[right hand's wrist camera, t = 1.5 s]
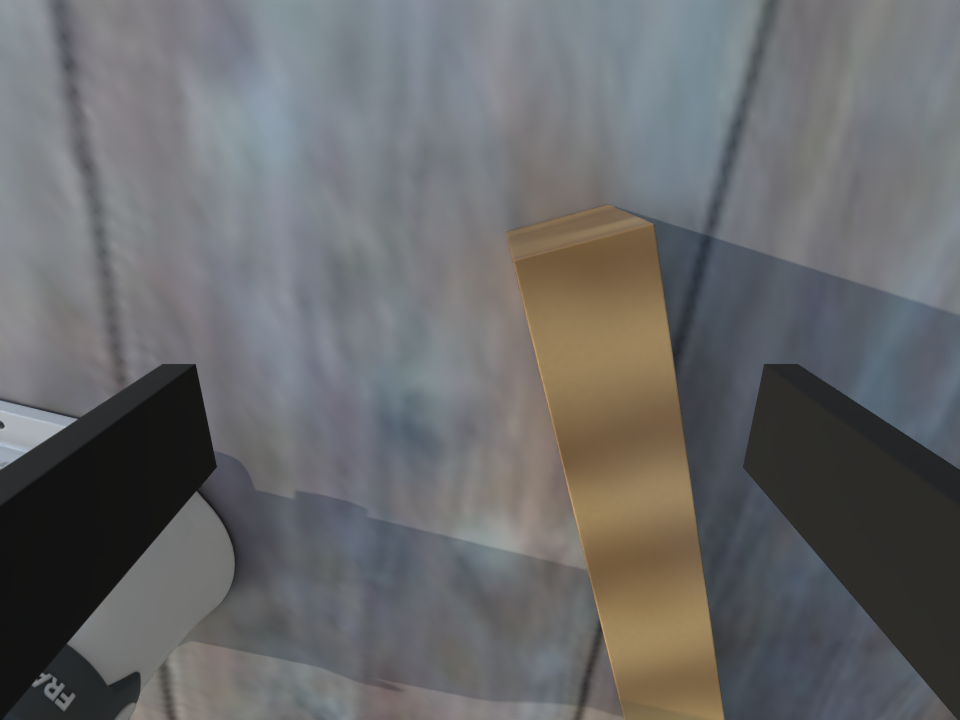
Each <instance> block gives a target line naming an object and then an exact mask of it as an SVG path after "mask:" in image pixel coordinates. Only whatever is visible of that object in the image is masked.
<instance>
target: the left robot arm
mask: <svg viewBox="0 0 960 720" xmlns="http://www.w3.org/2000/svg"><path fill="white" fill-rule="evenodd" d="M76 420H78V419H75V418H71V417H67V416H63V415H59V414H54V413H50V412H46V411H42V410H38V409H34V408H30V407H25V406H21V405H17V404H13V403H9V402H5V401H1V400H0V470H1V469H2V468H4V467H5V466H7V465H9V464H10V463H12V462H13V461H15V460H16V459H18V458H19V457H21V456H22V455H24V454H25V453H27V452H29V451H30V450H32V449H33V448H35V447H36V446H38V445H39V444H41V443H42V442H44V441H45V440H47V439H48V438H50V437H52V436H53V435H55V434H56V433H58V432H59V431H61V430H62V429H64V428H65V427H67V426H68V425H70V424H71V423H73V422H75V421H76ZM234 571H235V558H234V551H233V547H232V543H231V540H230V538H229V535H228V533H227V531H226V529H225V527H224V525H223V523H222V522H221V520H220V519H219V517H218V516H217V514H216V513H215V512H214V510H213V509H212V508H211V507H210V506H209V504H208V503H207V502H206V501H205V500H204V499H203V498H202V497H201V495H200V494H199V493H198V492H197V491H196V492H195V493H194V495H193V496H192V497H191V498H190V499H189V500H188V502H187V503H186V504H185V505H184V506H183V508H182V509H181V510H180V511H179V512H178V513H177V515H176V516H175V517H174V518H173V519H172V521H171V522H170V523H169V524H168V525H167V526H166V528H165V529H164V530H163V531H162V532H161V533H160V535H159V536H158V537H157V538H156V539H155V541H154V542H153V543H152V544H151V545H150V546H149V548H148V549H147V550H146V551H145V552H144V553H143V555H142V556H141V557H140V558H139V559H138V561H137V562H136V563H135V564H134V565H133V566H132V568H131V569H130V570H129V571H128V572H127V574H126V575H125V576H124V577H123V578H122V579H121V581H120V582H119V583H118V584H117V585H116V586H115V588H114V589H113V590H112V591H111V592H110V594H109V595H108V596H107V597H106V598H105V599H104V601H103V602H102V603H101V604H100V605H99V606H98V608H97V609H96V610H95V611H94V612H93V614H92V615H91V616H90V617H89V618H88V619H87V621H86V622H85V623H84V624H83V625H82V627H81V628H80V629H79V630H78V631H77V632H76V634H75V635H74V636H73V637H72V638H71V639H70V641H69V642H68V643H67V644H66V645H65V647H64V648H63V649H62V650H61V651H60V652H59V654H58V655H57V656H56V657H55V658H54V659H53V661H52V662H51V663H50V664H49V665H48V667H47V668H46V669H45V670H44V671H43V672H42V674H41V675H40V676H39V677H38V678H37V680H36V681H35V682H34V683H33V684H32V685H31V687H30V688H29V689H28V690H27V691H26V692H25V694H24V695H23V696H22V697H21V698H20V700H19V701H18V702H17V703H16V704H15V705H14V707H13V708H12V709H11V710H10V711H9V712H8V714H7V715H6V716H5V717H4V718H3V720H129V719H130V718H131V716H132V714H133V712H134V710H135V707H136V703H137V701H138V698H139V695H140V692H141V690H142V689H143V688H144V686H145V685H146V684H147V682H148V681H149V680H150V678H151V677H152V676H153V675H154V673H155V672H156V671H157V670H158V668H159V667H160V666H161V665H162V664H163V662H164V661H165V660H166V659H167V657H168V656H169V655H170V654H171V653H172V651H173V650H174V649H175V648H176V647H177V646H178V645H179V643H180V642H181V641H182V640H183V639H184V638H185V637H186V636H187V634H188V633H189V632H190V631H191V630H192V629H193V628H194V627H195V626H196V625H197V624H198V623H199V622H200V621H201V620H202V619H203V618H205V617H206V616H207V615H208V614H209V613H210V612H211V611H213V610H214V609H215V608H216V607H217V606H218V605H219V604H220V603H221V602H222V600H223V599H224V598H225V596H226V595H227V593H228V591H229V589H230V587H231V584H232V581H233V577H234Z"/></svg>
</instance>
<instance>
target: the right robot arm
mask: <svg viewBox="0 0 960 720" xmlns="http://www.w3.org/2000/svg"><path fill="white" fill-rule="evenodd" d="M216 468H217V465H216V461H215V456H214V451H213V446H212V441H211V436H210V431H209V427H208V422H207V417H206V412H205V407H204V402H203V397H202V393H201V388H200V383H199V378H198V373H197V368H196V364H162V365H160V366H159V367H157V368H156V369H154V370H153V371H151V372H150V373H148V374H147V375H145V376H144V377H142V378H140V379H139V380H137V381H136V382H134V383H133V384H131V385H130V386H128V387H127V388H125V389H124V390H122V391H121V392H119V393H117V394H116V395H114V396H113V397H111V398H110V399H108V400H107V401H105V402H104V403H102V404H101V405H99V406H98V407H96V408H94V409H93V410H91V411H90V412H88V413H87V414H85V415H84V416H82V417H81V418H79V419H78V420H76V421H75V422H73V423H71V424H70V425H68V426H67V427H65V428H64V429H62V430H61V431H59V432H58V433H56V434H55V435H53V436H52V437H50V438H48V439H47V440H45V441H44V442H42V443H41V444H39V445H38V446H36V447H35V448H33V449H32V450H30V451H29V452H27V453H25V454H24V455H22V456H21V457H19V458H18V459H16V460H15V461H13V462H12V463H10V464H9V465H7V466H5V467H4V468H2V469H1V470H0V720H3V718H4V717H5V716H6V715H7V714H8V712H9V711H10V710H11V709H12V708H13V707H14V705H15V704H16V703H17V702H18V701H19V700H20V698H21V697H22V696H23V695H24V694H25V692H26V691H27V690H28V689H29V688H30V687H31V685H32V684H33V683H34V682H35V681H36V680H37V678H38V677H39V676H40V675H41V674H42V672H43V671H44V670H45V669H46V668H47V667H48V665H49V664H50V663H51V662H52V661H53V659H54V658H55V657H56V656H57V655H58V654H59V652H60V651H61V650H62V649H63V648H64V647H65V645H66V644H67V643H68V642H69V641H70V639H71V638H72V637H73V636H74V635H75V634H76V632H77V631H78V630H79V629H80V628H81V627H82V625H83V624H84V623H85V622H86V621H87V619H88V618H89V617H90V616H91V615H92V614H93V612H94V611H95V610H96V609H97V608H98V606H99V605H100V604H101V603H102V602H103V601H104V599H105V598H106V597H107V596H108V595H109V594H110V592H111V591H112V590H113V589H114V588H115V586H116V585H117V584H118V583H119V582H120V581H121V579H122V578H123V577H124V576H125V575H126V574H127V572H128V571H129V570H130V569H131V568H132V566H133V565H134V564H135V563H136V562H137V561H138V559H139V558H140V557H141V556H142V555H143V553H144V552H145V551H146V550H147V549H148V548H149V546H150V545H151V544H152V543H153V542H154V541H155V539H156V538H157V537H158V536H159V535H160V533H161V532H162V531H163V530H164V529H165V528H166V526H167V525H168V524H169V523H170V522H171V521H172V519H173V518H174V517H175V516H176V515H177V513H178V512H179V511H180V510H181V509H182V508H183V506H184V505H185V504H186V503H187V502H188V500H189V499H190V498H191V497H192V496H193V495H194V493H195V492H196V491H197V490H198V489H199V488H200V486H201V485H202V484H203V483H204V482H205V480H206V479H207V478H208V477H209V476H210V475H211V473H212V472H213V471H214V470H215V469H216ZM743 468H744V469H745V470H746V471H747V472H748V473H749V475H750V476H751V477H752V478H753V479H754V480H755V482H756V483H757V484H758V485H759V486H760V488H761V489H762V490H763V491H764V492H765V493H766V495H767V496H768V497H769V498H770V499H771V500H772V502H773V503H774V504H775V505H776V506H777V508H778V509H779V510H780V511H781V512H782V513H783V515H784V516H785V517H786V518H787V519H788V521H789V522H790V523H791V524H792V525H793V526H794V528H795V529H796V530H797V531H798V532H799V533H800V535H801V536H802V537H803V538H804V539H805V541H806V542H807V543H808V544H809V545H810V546H811V548H812V549H813V550H814V551H815V552H816V553H817V555H818V556H819V557H820V558H821V559H822V561H823V562H824V563H825V564H826V565H827V566H828V568H829V569H830V570H831V571H832V572H833V574H834V575H835V576H836V577H837V578H838V579H839V581H840V582H841V583H842V584H843V585H844V586H845V588H846V589H847V590H848V591H849V592H850V594H851V595H852V596H853V597H854V598H855V599H856V601H857V602H858V603H859V604H860V605H861V606H862V608H863V609H864V610H865V611H866V612H867V614H868V615H869V616H870V617H871V618H872V619H873V621H874V622H875V623H876V624H877V625H878V627H879V628H880V629H881V630H882V631H883V632H884V634H885V635H886V636H887V637H888V638H889V639H890V641H891V642H892V643H893V644H894V645H895V647H896V648H897V649H898V650H899V651H900V652H901V654H902V655H903V656H904V657H905V658H906V659H907V661H908V662H909V663H910V664H911V665H912V667H913V668H914V669H915V670H916V671H917V672H918V674H919V675H920V676H921V677H922V678H923V680H924V681H925V682H926V683H927V684H928V685H929V687H930V688H931V689H932V690H933V691H934V692H935V694H936V695H937V696H938V697H939V698H940V700H941V701H942V702H943V703H944V704H945V705H946V707H947V708H948V709H949V710H950V711H951V712H952V714H953V715H954V716H955V717H956V718H957V720H960V470H959V469H958V468H956V467H955V466H953V465H951V464H950V463H948V462H947V461H945V460H944V459H942V458H941V457H939V456H938V455H936V454H935V453H933V452H931V451H930V450H928V449H927V448H925V447H924V446H922V445H921V444H919V443H918V442H916V441H915V440H913V439H912V438H910V437H908V436H907V435H905V434H904V433H902V432H901V431H899V430H898V429H896V428H895V427H893V426H892V425H890V424H889V423H887V422H885V421H884V420H882V419H881V418H879V417H878V416H876V415H875V414H873V413H872V412H870V411H869V410H867V409H866V408H864V407H862V406H861V405H859V404H858V403H856V402H855V401H853V400H852V399H850V398H849V397H847V396H846V395H844V394H843V393H841V392H839V391H838V390H836V389H835V388H833V387H832V386H830V385H829V384H827V383H826V382H824V381H823V380H821V379H820V378H818V377H816V376H815V375H813V374H812V373H810V372H809V371H807V370H806V369H804V368H803V367H801V366H800V365H798V364H764V368H763V373H762V378H761V383H760V388H759V393H758V397H757V402H756V407H755V412H754V417H753V422H752V427H751V431H750V436H749V441H748V446H747V451H746V456H745V461H744V465H743Z"/></svg>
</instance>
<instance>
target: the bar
mask: <svg viewBox="0 0 960 720" xmlns="http://www.w3.org/2000/svg"><path fill="white" fill-rule="evenodd" d="M506 236H507V240H508V244H509V248H510V253H511V257H512V261H513V265H514V269H515V273H516V277H517V281H518V285H519V290H520V294H521V298H522V302H523V306H524V310H525V314H526V318H527V323H528V327H529V331H530V335H531V339H532V343H533V347H534V351H535V355H536V360H537V364H538V368H539V372H540V376H541V380H542V384H543V388H544V392H545V397H546V401H547V405H548V409H549V413H550V417H551V421H552V425H553V429H554V434H555V438H556V442H557V446H558V450H559V454H560V458H561V462H562V467H563V471H564V475H565V479H566V483H567V487H568V491H569V495H570V499H571V504H572V508H573V512H574V516H575V520H576V524H577V528H578V532H579V536H580V541H581V545H582V549H583V553H584V557H585V561H586V565H587V569H588V573H589V578H590V582H591V586H592V590H593V594H594V598H595V602H596V606H597V611H598V615H599V619H600V623H601V627H602V631H603V635H604V639H605V643H606V648H607V652H608V656H609V660H610V664H611V668H612V672H613V676H614V680H615V685H616V689H617V693H618V697H619V701H620V705H621V709H622V713H623V717H624V720H725V718H724V711H723V704H722V697H721V690H720V683H719V676H718V669H717V662H716V655H715V648H714V641H713V634H712V627H711V619H710V612H709V605H708V598H707V591H706V584H705V577H704V570H703V563H702V556H701V549H700V542H699V535H698V528H697V521H696V514H695V507H694V500H693V493H692V486H691V479H690V472H689V465H688V458H687V451H686V444H685V437H684V430H683V423H682V416H681V409H680V402H679V395H678V387H677V380H676V373H675V366H674V359H673V352H672V345H671V338H670V331H669V324H668V317H667V310H666V303H665V296H664V289H663V282H662V275H661V268H660V261H659V254H658V247H657V240H656V233H655V226H654V224H653V223H651V222H649V221H646V220H644V219H642V218H639V217H637V216H635V215H632V214H630V213H628V212H625V211H623V210H620V209H618V208H616V207H613V206H611V205H605V206H601V207H597V208H594V209H590V210H586V211H582V212H579V213H575V214H571V215H568V216H564V217H560V218H556V219H553V220H549V221H545V222H541V223H538V224H534V225H530V226H526V227H523V228H519V229H515V230H512V231H508V232H506Z"/></svg>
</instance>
